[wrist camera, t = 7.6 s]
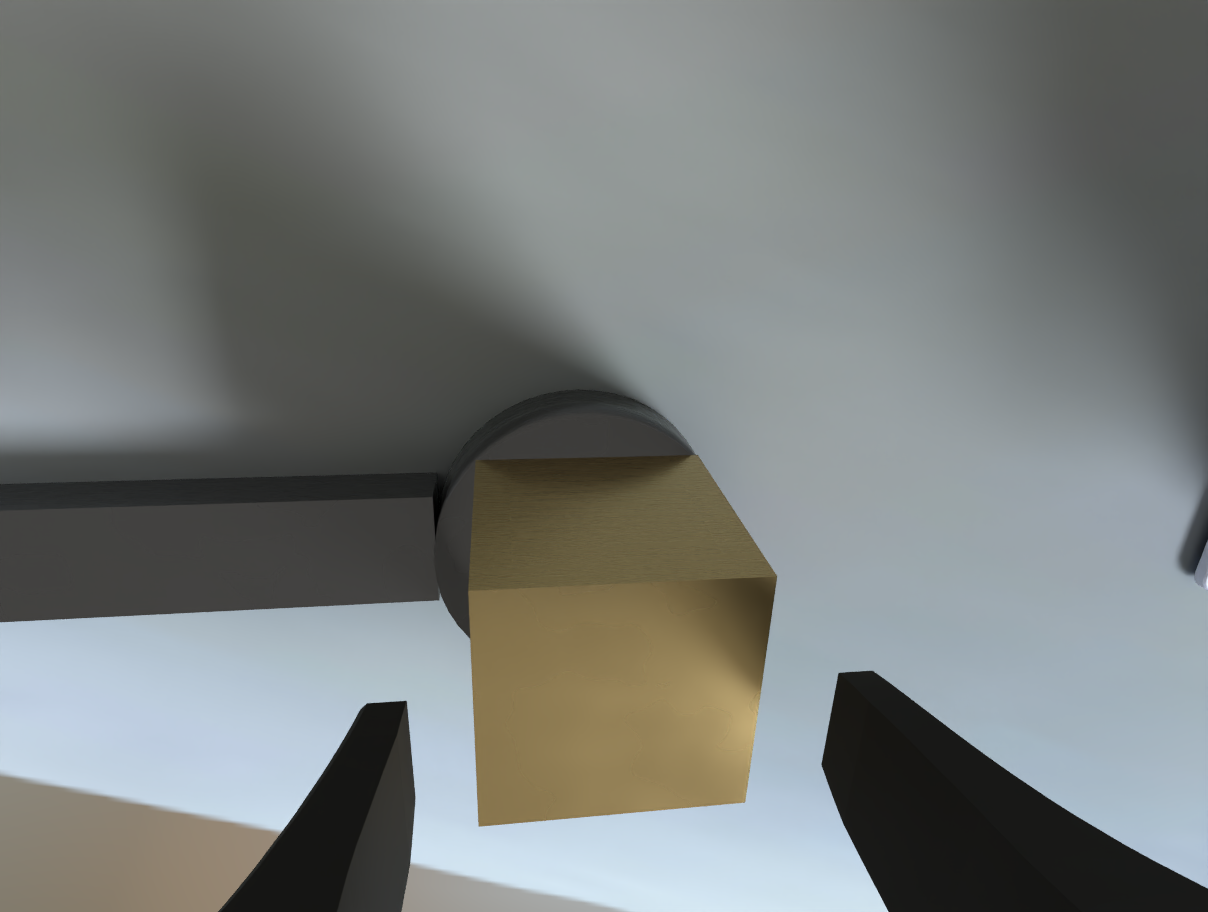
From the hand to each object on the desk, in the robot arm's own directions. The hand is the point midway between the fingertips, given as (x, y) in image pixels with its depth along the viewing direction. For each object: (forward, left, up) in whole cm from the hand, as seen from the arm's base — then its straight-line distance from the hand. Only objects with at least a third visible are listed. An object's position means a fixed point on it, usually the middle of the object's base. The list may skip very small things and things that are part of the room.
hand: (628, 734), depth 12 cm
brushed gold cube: (0, 0, -6) cm, 6 cm away
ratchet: (+6, 0, -8) cm, 10 cm away
